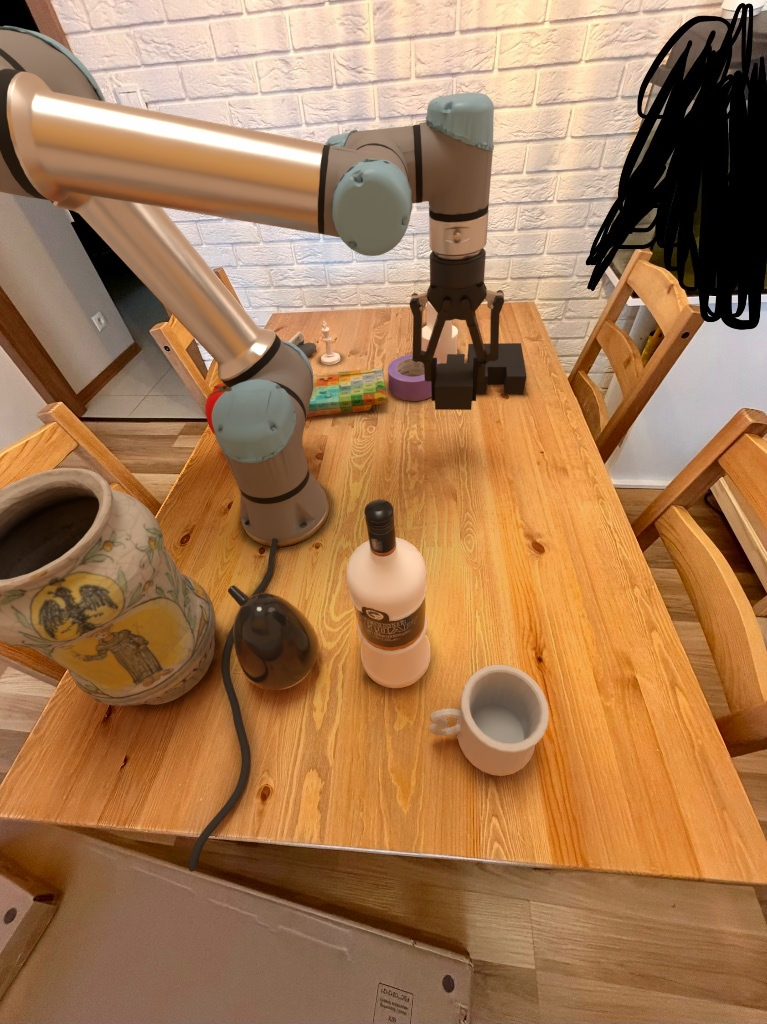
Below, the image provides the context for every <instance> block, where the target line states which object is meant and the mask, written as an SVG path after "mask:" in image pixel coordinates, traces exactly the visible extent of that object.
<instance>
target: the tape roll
mask: <svg viewBox="0 0 767 1024" xmlns="http://www.w3.org/2000/svg"><path fill="white" fill-rule="evenodd" d="M438 363H439V362H438V361H437V364H438ZM387 379H388V390H389V392H390V394H391V395H392V396H393V397H395V398H397V399H400V400H403V401H407V402H417V401H423V400H424V401H425V400H427V399H430V398H432V389H431V381H425V373H424V364H423V363H422V362H419V361H418V362H414V361H413V353H410V354H405V355H402V356H399V357H396V358H394V359H393V360H391V361H390V363H389V364H388V366H387Z"/></svg>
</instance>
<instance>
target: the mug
mask: <svg viewBox="0 0 767 1024" xmlns="http://www.w3.org/2000/svg"><path fill="white" fill-rule="evenodd" d="M448 718H453V719H457V721H456V724H455V725H453V726H449V724H450V723H449V720H448ZM549 719H550V711H549V703H548V700H547V698H546V695H545V693H544V691H543V689H542V688H541V687H540V685H539V683H538V682H536V680H535V679H533V677H531V676H530V675H529V674H527V673H526V672H524V671H523V670H521V669H519V668H517V667H515V666H511V665H508V664H490V665H485V666H484V667H482V668H480V669H478V670H476V671H475V672H474V673H473V674H471V676H469V677H468V679H467V680H466V682H465V684H464V686H463V689H462V692H461V696H460V709H458V708H452V707H449V708H448V707H447V708H441V709H438V710H435V711H433V712H431V713H430V716H429V721H430V722H431V724H430V725H429V728H428V731H429V733H430V734H432V735H434V736H438V737H452V736H455V735H456V738H457V741H458V745H459V747H460V750H461V752H462V754H463V755H464V757H465V758H466V759H467V760H468V762H469V763H470V764H471V765H472V766H474V767H475V768H476V769H478V770H479V771H481V772H482V773H485V774H489V775H491V776H498V777H499V776H500V777H504V776H509V775H514V774H515V773H517V772H519V771H521V770H523V769H524V768H525V766H527V764H528V763H529V762H530V761H531V759H532V756H533V755H534V752H535V747H536V746H537V744H538V743H539V742H540V741H541V740H542V738H544V735H545V733H546V731H547V730H548V726H549Z"/></svg>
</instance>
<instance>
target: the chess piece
mask: <svg viewBox="0 0 767 1024" xmlns="http://www.w3.org/2000/svg"><path fill="white" fill-rule="evenodd" d="M327 325H328V322H327V321H326V320H322V328H321V333H322V335H323V338H322V341H323V342H325V353H324V354H322V355H321V357H320V362H321V364H323V365H327V366H331V365H335V364H338V363H339V362H340V361H341V355H340V353H338V352H335V351H333V348H332V345H331V340H332V337H331V335H330V331H331V327H328V326H327Z"/></svg>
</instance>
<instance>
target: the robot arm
mask: <svg viewBox="0 0 767 1024" xmlns="http://www.w3.org/2000/svg"><path fill="white" fill-rule="evenodd" d="M494 114H495V106H494V102H493V100H492V98H490V96H488V95H487V94H486V93H483V92H482V93H481V92H463V93H453V94H452V93H451V94H449V95H442V96H438V97H435V98H433V99H431V100H430V101H429V103H428V105H427V108H426V116H425V121H423V122H420V123H419V124H413V125H407V126H397V127H385V128H377V129H366V130H365V129H364V130H358V129H353V130H350V131H349V132H345V133H339V134H334V135H331V136H330V137H329V138H328V139H327V140H326V143H323V142H317V141H311V140H306V139H301V138H296V137H292V136H286V135H281V134H275V133H271V132H265V131H261V130H260V131H259V130H254V129H249V128H245V127H240V126H239V127H238V126H233V125H228V124H222V123H219V122H212V121H208V120H202V119H199V118H198V119H197V118H192V117H186V116H181V115H177V114H170V113H167V112H166V113H165V112H160V111H156V110H150V109H145V108H139V107H135V106H129V105H124V104H119V103H113V102H108V101H106V98H105V96H104V94H103V92H102V90H101V88H100V86H99V84H98V82H97V81H96V79H95V77H94V76H93V75H92V73H91V72H90V71H89V70H88V68H87V66H86V65H85V64H84V63H83V62H82V61H81V60H80V59H79V58H78V57H77V56H76V55H75V54H74V53H73V52H72V51H70V49H68V48H67V47H66V46H64V45H63V44H61V42H59V41H57V40H55V39H53V38H51V36H48V35H46V34H43V33H41V32H38V31H34V30H30V29H25V28H22V27H17V26H11V25H3V26H0V193H4V194H10V195H13V196H14V195H15V196H19V197H25V198H31V199H32V198H33V199H39V200H45V201H49V202H50V203H52V205H54V207H56V208H59V209H64V210H67V211H73V212H74V213H77V214H78V215H80V217H81V218H82V219H83V220H84V221H85V222H86V223H87V224H88V225H89V226H90V227H91V228H92V230H94V231H95V233H96V234H97V235H98V236H99V237H100V238H101V239H102V241H104V242H105V243H106V244H107V245H108V246H109V248H111V250H112V251H113V253H115V254H116V255H117V256H118V257H119V258H120V260H122V262H123V263H124V264H125V265H126V266H127V267H128V268H129V269H130V270H131V271H132V273H133V274H135V276H136V277H137V278H138V279H139V280H140V281H141V282H142V283H143V284H144V285H145V286H146V288H148V290H149V291H150V292H151V293H152V294H153V295H154V296H155V297H156V298H157V299H158V301H160V303H161V304H162V305H163V306H164V307H165V308H166V309H167V310H168V311H169V312H170V313H171V315H172V316H173V317H174V318H175V319H176V320H177V321H178V322H179V323H180V324H181V325H182V326H183V327H184V328H185V329H186V331H187V332H188V333H189V334H190V335H191V336H192V337H193V338H194V339H195V340H196V341H197V342H198V344H200V346H201V347H202V348H203V349H204V350H205V351H206V352H207V353H208V354H209V356H210V357H211V358H212V359H214V361H215V362H216V363H217V377H218V379H219V380H220V381H221V383H224V384H225V385H226V386H227V387H228V388H229V389H230V390H231V391H229V392H227V391H225V392H224V393H223V394H222V395H221V396H220V397H219V399H218V400H217V401H216V403H215V405H214V407H213V411H212V425H213V428H214V431H215V435H214V437H215V440H216V443H217V444H218V447H219V448H220V450H221V451H222V454H223V456H224V458H225V461H226V462H227V465H228V467H229V469H230V472H231V474H232V476H233V479H234V481H235V483H236V486H237V487H238V489H239V493H240V498H239V499H240V500H239V501H240V502H239V504H240V505H239V516H240V521H241V524H242V527H243V529H244V530H245V533H246V535H247V536H248V537H249V538H250V539H251V540H252V541H254V542H256V543H258V544H259V545H262V546H266V547H267V546H268V547H270V550H269V555H268V564H267V569H266V573H265V575H264V577H263V579H262V581H261V582H260V583H259V585H258V587H256V589H255V590H254V591H253V593H252V594H251V595H250V596H249V598H250V597H252V596H254V595H257V594H261V593H263V592H264V590H265V589H266V587H267V586H268V584H269V582H270V581H271V578H272V577H273V576H272V575H273V573H274V568H275V561H276V553H277V549H278V548H280V547H281V548H282V547H289V546H292V545H296V544H298V543H299V544H300V543H302V542H303V541H306V540H307V539H309V538H311V537H312V536H314V535H315V534H316V533H317V532H319V530H321V528H322V527H323V526H324V524H325V523H326V520H327V519H328V516H329V511H330V507H329V506H330V504H329V500H328V496H327V493H326V491H325V489H324V488H323V486H322V485H321V484H320V483H319V481H318V480H317V479H316V478H315V476H314V475H313V474H312V472H311V471H310V468H309V464H308V460H307V456H306V452H305V449H304V448H305V447H304V443H303V438H304V432H305V431H304V430H305V427H306V422H307V413H308V409H309V404H310V399H311V397H312V393H313V387H314V383H313V374H314V371H313V367H312V364H311V362H310V359H309V357H307V356H306V355H305V354H304V352H303V351H302V350H301V349H300V348H298V347H297V346H296V345H294V344H293V343H291V342H288V341H285V340H284V339H281V338H280V337H279V336H278V334H277V333H276V332H275V331H274V330H273V329H271V328H270V329H269V328H261V327H259V326H258V324H256V322H255V321H254V319H253V318H252V316H250V315H249V313H248V312H247V311H246V310H245V309H244V307H243V306H242V305H241V304H240V301H238V300H237V298H235V296H234V295H233V294H232V292H231V291H230V290H229V289H228V288H227V286H226V285H225V283H223V281H222V280H221V279H220V278H219V277H218V275H217V273H216V272H215V271H214V270H213V269H212V268H211V266H210V265H209V264H208V263H207V261H206V260H205V259H204V258H203V256H202V255H201V254H200V253H199V251H198V250H197V249H196V248H195V246H194V245H193V244H192V243H191V241H190V240H189V239H188V238H187V237H186V236H185V234H184V233H183V231H182V230H181V229H180V228H179V227H178V225H177V224H176V223H175V221H173V219H172V218H171V217H170V215H169V214H168V213H167V212H166V211H165V210H164V209H169V210H175V211H181V212H187V213H192V214H198V215H204V216H211V217H216V218H217V217H218V218H223V219H229V220H234V221H241V222H247V223H252V224H259V225H265V226H270V227H277V228H283V229H289V230H295V231H300V232H307V233H314V234H317V235H325V236H329V237H335V238H338V239H339V238H340V239H341V241H342V242H343V243H344V244H345V245H346V246H347V247H348V248H349V249H351V250H352V251H353V252H355V253H357V254H359V255H362V256H365V257H366V256H367V257H376V256H381V255H384V254H386V253H389V252H390V251H392V250H394V249H395V248H396V246H398V245H399V243H400V242H401V241H402V240H403V238H404V237H405V234H406V232H407V230H408V227H409V223H410V221H411V215H412V210H413V204H422V203H426V202H428V237H429V240H428V242H429V243H428V244H429V249H430V250H431V252H430V254H429V286H428V288H427V291H426V292H423V293H419V294H418V293H417V292H413V293H412V294H411V296H410V299H409V308H410V311H411V314H412V318H413V319H412V320H413V322H412V354H413V361H414V362H418V361H419V362H422V363H423V364H424V373H425V381H431V389H432V397H431V402H435V380H436V374H437V358H433V356H434V353H435V350H436V347H437V344H438V341H439V338H440V335H441V332H442V329H443V327H444V324H445V321H447V320H453V321H454V320H459V321H465V324H466V326H467V328H468V331H469V336H470V338H471V339H470V340H471V342H472V344H473V346H474V349H475V353H476V356H477V357H474V362H473V390H472V402H477V395H478V394H477V381H484V379H485V368H486V363H487V362H489V361H496V360H497V359H498V349H499V343H500V313H501V311H502V309H503V306H504V303H505V294H504V293H505V292H504V291H503V290H502V289H501V290H500V289H499V290H497V291H493V290H489V289H487V288H488V287H487V286H486V284H485V273H486V272H485V271H486V257H487V256H486V255H487V252H486V250H485V247H486V246H487V241H488V228H489V227H488V226H489V205H490V193H491V181H492V180H491V179H492V165H493V153H494V149H495V145H494V121H495V119H494ZM428 301H429V302H430V304H431V305H432V306H433V308H434V309H435V310H436V312H437V313H438V314H437V317H436V321H435V324H434V327H433V330H432V334H431V337H430V340H429V343H428V346H427V349H426V352H425V351H422V350H421V347H422V328H423V316H424V315H423V314H424V311H425V310H426V308H427V302H428ZM484 301H486V303H487V305H486V306H487V308H488V309H489V310H490V325H489V327H490V328H489V329H490V333H489V344H490V349H489V350H486V351H485V347H484V344H485V343H484V340H483V336H482V333H481V329H480V325H479V322H478V318H477V313H476V311H477V310H478V308H479V307H480V306H481V305H482V303H483V302H484ZM277 547H278V548H277ZM233 643H234V623H233V624H232V626H231V628H230V630H229V633H228V635H227V637H226V640H225V642H224V647H223V650H222V656H221V676H222V683H223V686H224V689H225V692H226V694H227V699H228V701H229V705H230V709H231V714H232V719H233V720H232V721H233V724H234V728H235V732H236V736H237V740H238V743H239V748H240V754H241V765H240V766H241V767H240V773H239V777H238V781H237V783H236V786H235V789H234V791H232V794H231V796H230V797H229V799H228V800H227V801H226V803H225V804H224V805H223V806H222V807H221V809H220V810H219V811H218V812H217V814H215V816H213V818H212V819H211V820H210V821H209V823H208V824H207V825H206V826H205V827H204V829H203V831H202V832H201V833H200V834H199V836H198V838H197V839H196V840H195V843H194V845H193V847H192V850H191V853H190V856H189V859H188V871H189V872H191V873H192V872H194V871H196V870H197V868H198V865H199V860H200V856H201V852H202V851H203V848H204V847H205V844H206V842H207V841H208V840H209V838H210V837H211V835H212V834H213V833H214V831H215V830H216V829H217V828H218V826H219V825H220V824H221V823H222V822H223V821H224V819H226V817H227V816H228V815H229V814H230V813H231V811H232V810H233V809H234V807H235V806H236V804H237V803H238V801H239V799H240V798H241V796H242V794H243V792H244V790H245V788H246V785H247V782H248V777H249V774H250V773H249V772H250V765H251V755H250V747H249V741H248V737H247V734H246V732H245V731H246V730H245V727H244V724H243V719H242V714H241V709H240V705H239V701H238V696H237V694H236V691H235V689H234V686H233V683H232V679H231V674H230V654H231V649H232V645H233Z"/></svg>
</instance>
